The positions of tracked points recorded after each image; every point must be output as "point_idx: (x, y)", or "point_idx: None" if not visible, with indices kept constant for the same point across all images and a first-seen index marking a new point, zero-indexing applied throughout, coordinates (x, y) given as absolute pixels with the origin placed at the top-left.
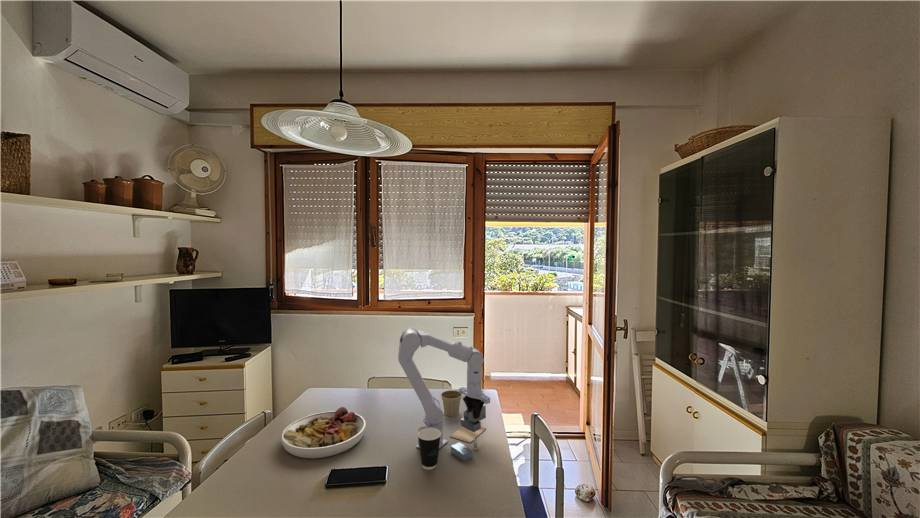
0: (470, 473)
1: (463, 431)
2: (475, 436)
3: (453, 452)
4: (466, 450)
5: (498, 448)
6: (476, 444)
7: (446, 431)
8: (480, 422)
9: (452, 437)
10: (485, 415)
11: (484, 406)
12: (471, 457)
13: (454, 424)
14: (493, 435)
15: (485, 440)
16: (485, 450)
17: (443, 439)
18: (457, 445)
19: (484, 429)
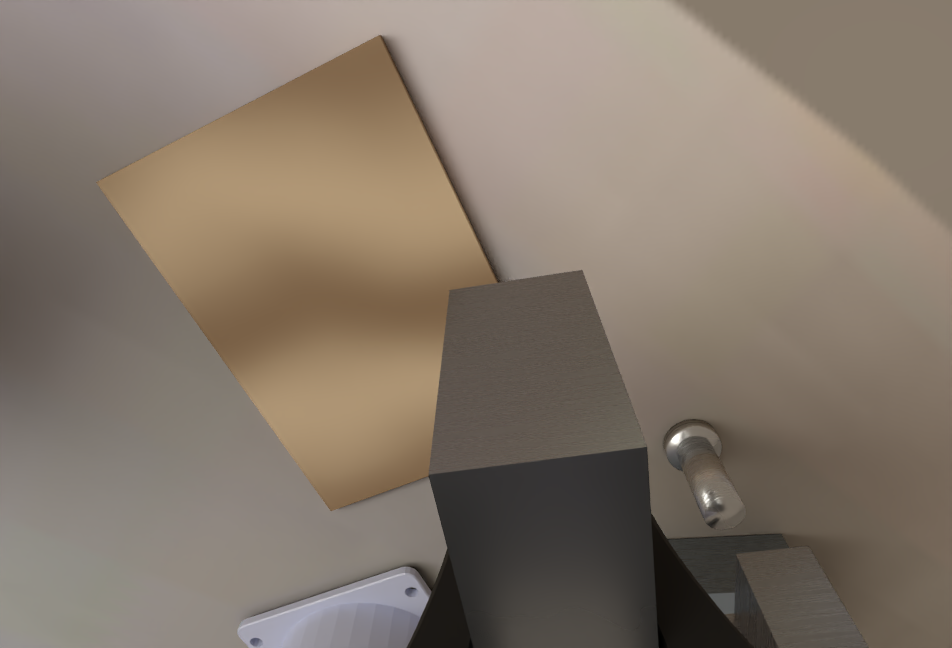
0: (926, 644)
1: (305, 351)
2: None
3: None
4: None
5: (877, 234)
6: (727, 474)
7: (203, 475)
8: (862, 641)
9: (361, 498)
10: (592, 301)
11: (643, 472)
12: (780, 544)
13: (69, 326)
14: (599, 68)
15: (628, 247)
16: (787, 376)
17: (371, 591)
18: None
19: (399, 85)
